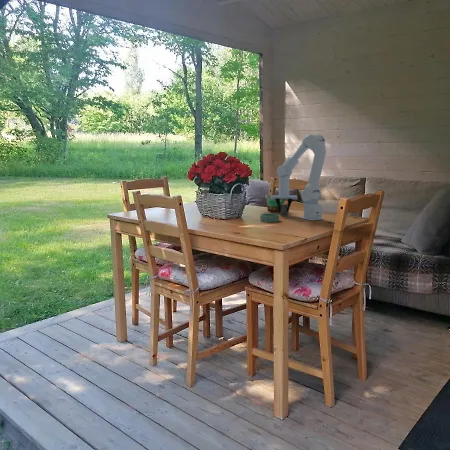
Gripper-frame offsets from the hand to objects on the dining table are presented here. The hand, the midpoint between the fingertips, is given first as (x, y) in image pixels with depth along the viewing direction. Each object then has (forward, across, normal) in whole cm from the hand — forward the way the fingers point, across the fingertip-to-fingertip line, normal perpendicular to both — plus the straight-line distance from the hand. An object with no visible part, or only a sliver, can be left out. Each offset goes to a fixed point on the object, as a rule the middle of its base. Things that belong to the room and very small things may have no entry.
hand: (283, 212), depth 260 cm
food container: (+2, +5, -12) cm, 14 cm away
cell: (+2, 0, 0) cm, 2 cm away
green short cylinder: (+2, +8, +16) cm, 18 cm away
